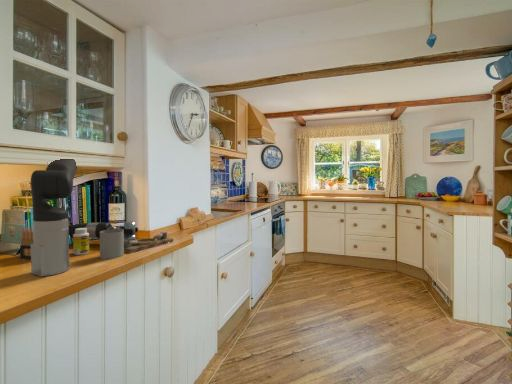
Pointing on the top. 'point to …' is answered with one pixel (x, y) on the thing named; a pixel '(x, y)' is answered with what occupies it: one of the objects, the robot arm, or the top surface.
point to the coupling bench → (146, 243)
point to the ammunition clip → (26, 243)
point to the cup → (111, 243)
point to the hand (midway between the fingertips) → (135, 230)
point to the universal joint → (129, 226)
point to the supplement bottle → (80, 241)
